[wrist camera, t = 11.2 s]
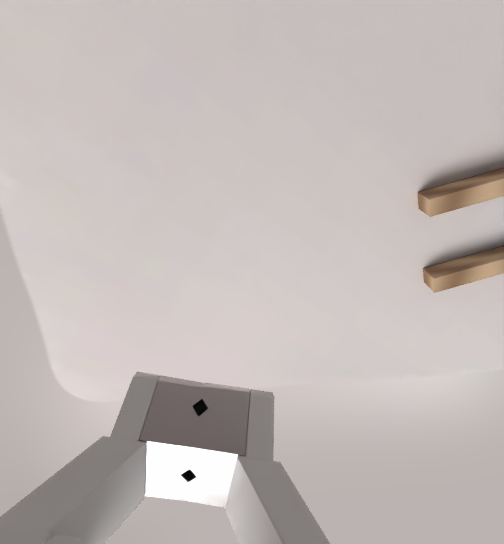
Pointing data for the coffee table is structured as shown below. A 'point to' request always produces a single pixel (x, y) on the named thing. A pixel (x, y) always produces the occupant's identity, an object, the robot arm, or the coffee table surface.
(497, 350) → the coffee table surface
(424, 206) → the brown flat open frame
